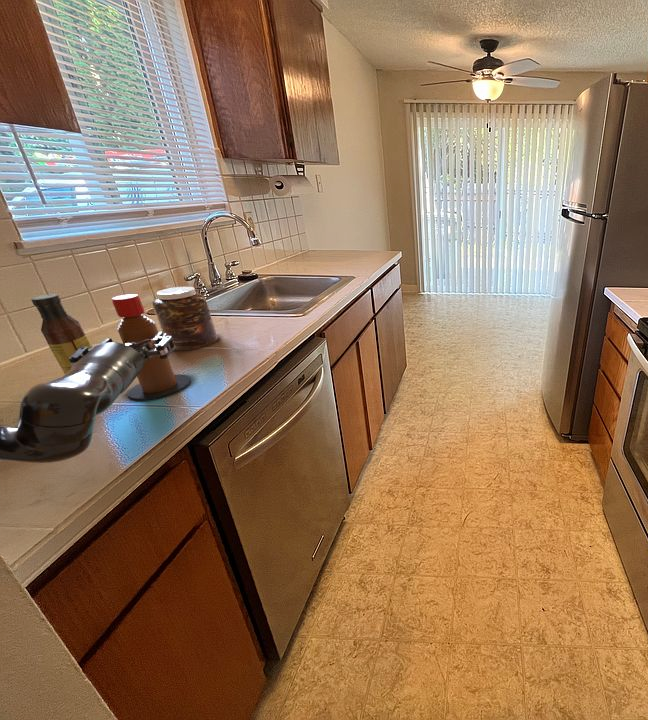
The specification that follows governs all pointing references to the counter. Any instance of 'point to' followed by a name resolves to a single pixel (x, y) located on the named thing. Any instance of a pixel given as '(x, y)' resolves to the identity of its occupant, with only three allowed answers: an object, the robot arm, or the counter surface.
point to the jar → (185, 317)
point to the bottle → (154, 369)
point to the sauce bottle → (60, 329)
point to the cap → (128, 305)
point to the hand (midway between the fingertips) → (137, 339)
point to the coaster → (182, 383)
